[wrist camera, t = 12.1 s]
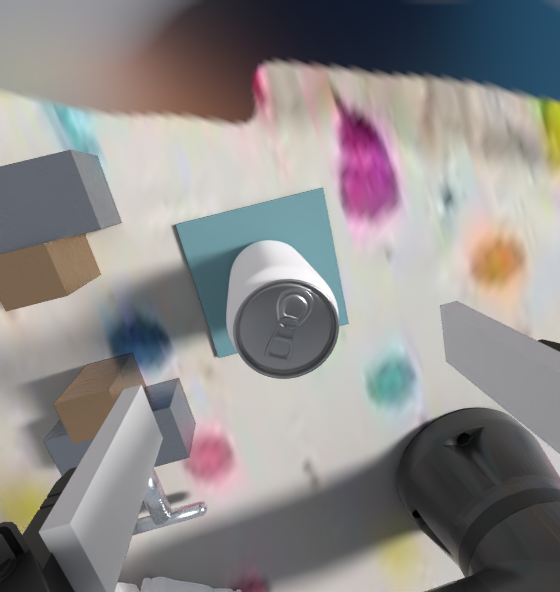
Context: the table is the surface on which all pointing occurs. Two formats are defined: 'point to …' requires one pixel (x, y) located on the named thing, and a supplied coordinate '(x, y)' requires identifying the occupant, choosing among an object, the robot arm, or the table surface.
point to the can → (280, 311)
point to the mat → (250, 229)
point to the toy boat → (168, 586)
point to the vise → (62, 282)
